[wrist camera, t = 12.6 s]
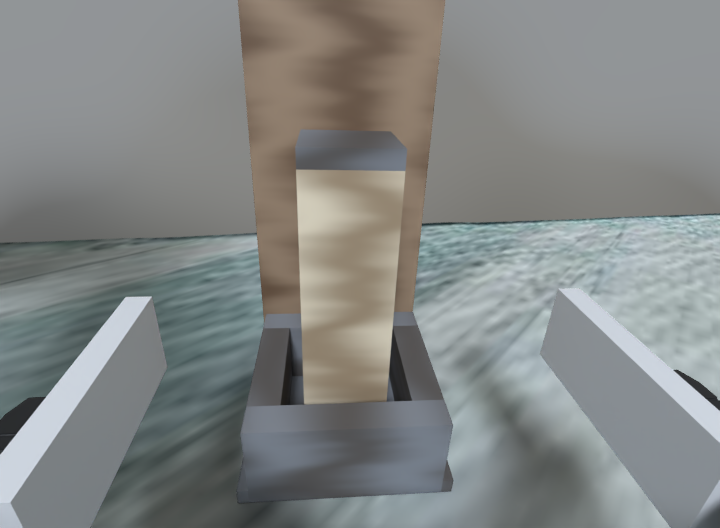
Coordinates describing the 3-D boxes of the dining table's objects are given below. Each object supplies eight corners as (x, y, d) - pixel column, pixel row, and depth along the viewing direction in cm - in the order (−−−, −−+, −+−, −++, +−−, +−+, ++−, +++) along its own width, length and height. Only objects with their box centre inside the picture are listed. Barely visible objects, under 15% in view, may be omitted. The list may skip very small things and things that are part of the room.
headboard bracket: (238, 503, 19) (72, -608, 7) (275, 305, 34) (245, -148, 22) (451, 491, 20) (649, -511, 8) (395, 303, 35) (431, -133, 23)
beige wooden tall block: (305, 443, 21) (295, 146, 15) (307, 388, 25) (300, 129, 18) (383, 440, 22) (407, 148, 15) (374, 385, 25) (390, 131, 19)
